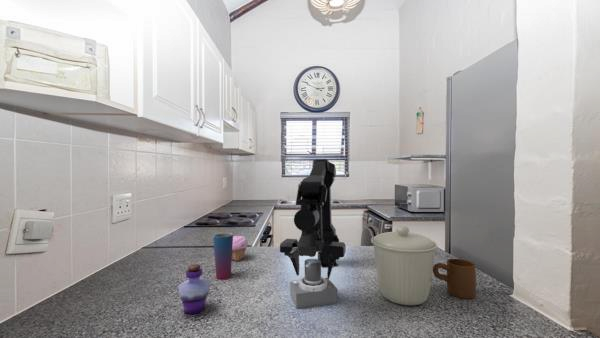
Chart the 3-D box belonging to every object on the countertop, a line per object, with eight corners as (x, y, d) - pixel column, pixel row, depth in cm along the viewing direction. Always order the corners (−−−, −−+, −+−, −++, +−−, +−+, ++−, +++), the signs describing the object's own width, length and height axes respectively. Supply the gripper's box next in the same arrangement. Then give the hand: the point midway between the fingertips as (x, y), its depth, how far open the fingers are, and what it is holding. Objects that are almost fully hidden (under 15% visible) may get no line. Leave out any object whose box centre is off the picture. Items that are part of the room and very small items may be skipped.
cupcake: (222, 260, 112) (221, 236, 112) (237, 254, 120) (237, 232, 120) (236, 264, 107) (236, 239, 107) (251, 258, 115) (251, 235, 115)
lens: (312, 280, 81) (312, 256, 81) (325, 285, 78) (324, 260, 78) (300, 285, 78) (300, 260, 78) (313, 290, 74) (312, 265, 74)
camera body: (327, 290, 83) (327, 273, 83) (337, 302, 75) (337, 284, 75) (290, 295, 80) (290, 277, 80) (296, 308, 72) (296, 289, 73)
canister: (368, 306, 73) (367, 230, 73) (374, 280, 90) (373, 218, 90) (442, 319, 67) (441, 235, 67) (433, 288, 84) (432, 221, 84)
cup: (236, 273, 98) (235, 232, 98) (229, 281, 91) (229, 237, 91) (218, 272, 99) (217, 232, 99) (210, 280, 92) (209, 237, 92)
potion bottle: (200, 298, 79) (200, 258, 79) (217, 308, 73) (216, 264, 73) (171, 310, 72) (170, 266, 72) (187, 322, 67) (186, 274, 67)
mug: (438, 299, 77) (438, 266, 77) (428, 287, 85) (427, 257, 85) (481, 300, 76) (481, 267, 76) (467, 288, 84) (467, 258, 84)
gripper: (272, 227, 73) (273, 284, 73) (340, 231, 68) (341, 292, 68) (285, 220, 84) (286, 269, 84) (345, 222, 78) (346, 275, 78)
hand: (312, 276), depth 78 cm, fingers open, 9 cm apart
